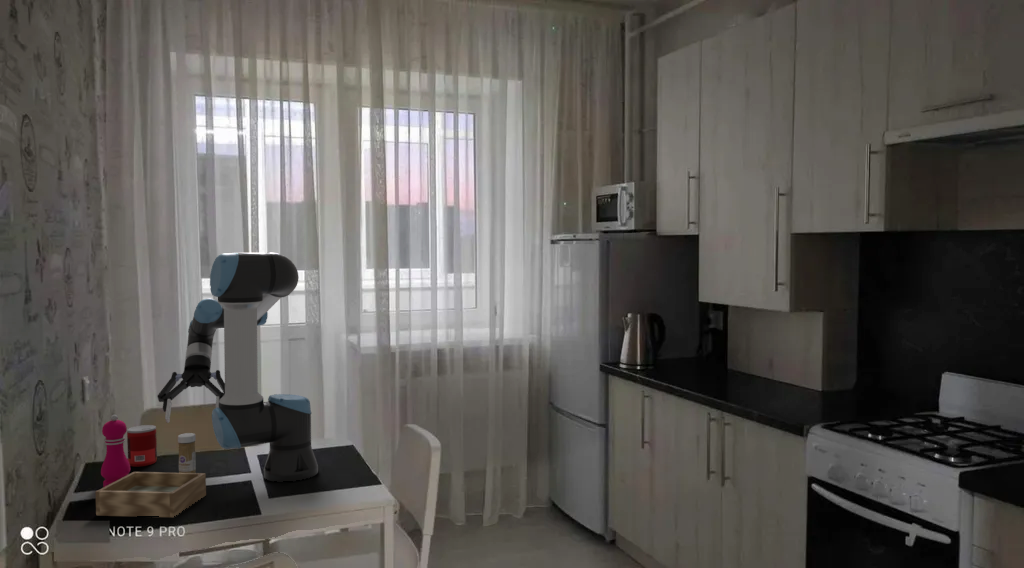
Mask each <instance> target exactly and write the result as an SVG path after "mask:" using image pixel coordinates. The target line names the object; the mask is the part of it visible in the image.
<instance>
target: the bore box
mask: <svg viewBox="0 0 1024 568" xmlns="http://www.w3.org/2000/svg"><path fill="white" fill-rule="evenodd" d="M206 477H207V475H206V472H196V473H179V472H167V471H166V472H161V471H133V472H131V473H130V472H129V474H128V475H127V476H125V477H123V478H121V479H119V480H117V481H115V482H113V483H111V484H109V485H107V486H105V487H102V488H100V489H98V490H95V514H96V516H100V517H103V516H104V517H105V516H106V517H107V516H108V517H137V516H159V517H158V518H175V517H177V516H178V515H180V514H181V513H182V511H183V510H184V511H186V510H187V509H189V508H190V507H191V506H193V505H194V504H196V503H197V502H199V501H201V498H202V499H203V498H204V497H205V496H207V483H206V482H207V480H206V479H207V478H206ZM198 500H199V501H198ZM195 502H196V503H195ZM192 504H193V505H192ZM189 506H190V507H189ZM186 508H187V509H186ZM185 509H186V510H185ZM184 511H183V512H184ZM179 513H180V514H179ZM176 515H177V516H176ZM174 516H175V517H174Z"/></svg>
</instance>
